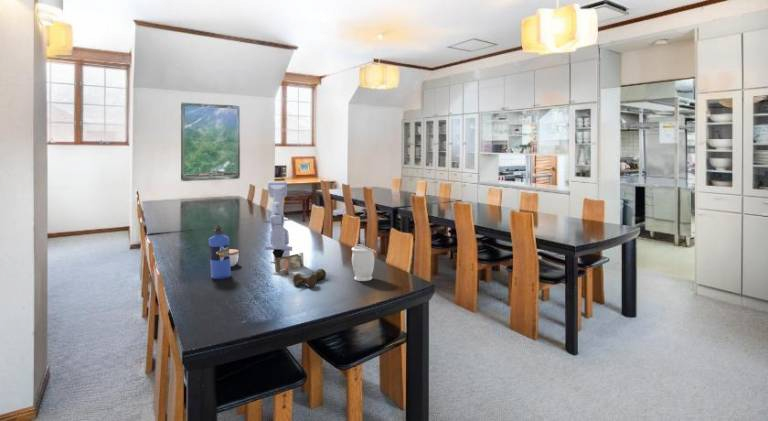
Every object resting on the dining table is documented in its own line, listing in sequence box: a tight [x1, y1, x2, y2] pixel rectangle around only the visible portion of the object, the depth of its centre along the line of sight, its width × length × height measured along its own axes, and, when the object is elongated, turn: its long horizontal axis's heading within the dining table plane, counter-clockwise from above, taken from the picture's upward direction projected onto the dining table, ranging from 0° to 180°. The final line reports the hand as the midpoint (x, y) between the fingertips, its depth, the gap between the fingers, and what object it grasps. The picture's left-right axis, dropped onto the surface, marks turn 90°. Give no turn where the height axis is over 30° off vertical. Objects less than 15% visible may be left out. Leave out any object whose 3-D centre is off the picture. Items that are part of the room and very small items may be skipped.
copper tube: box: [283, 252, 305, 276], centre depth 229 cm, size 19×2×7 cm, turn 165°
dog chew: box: [292, 268, 327, 288], centre depth 205 cm, size 6×10×20 cm
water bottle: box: [208, 224, 232, 280], centre depth 218 cm, size 9×9×25 cm
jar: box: [351, 245, 375, 282], centre depth 211 cm, size 11×10×15 cm
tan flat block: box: [274, 253, 300, 272], centre depth 231 cm, size 14×2×7 cm, turn 134°
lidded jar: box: [229, 248, 240, 268], centre depth 240 cm, size 11×11×9 cm
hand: (279, 264), depth 230 cm, fingers closed
